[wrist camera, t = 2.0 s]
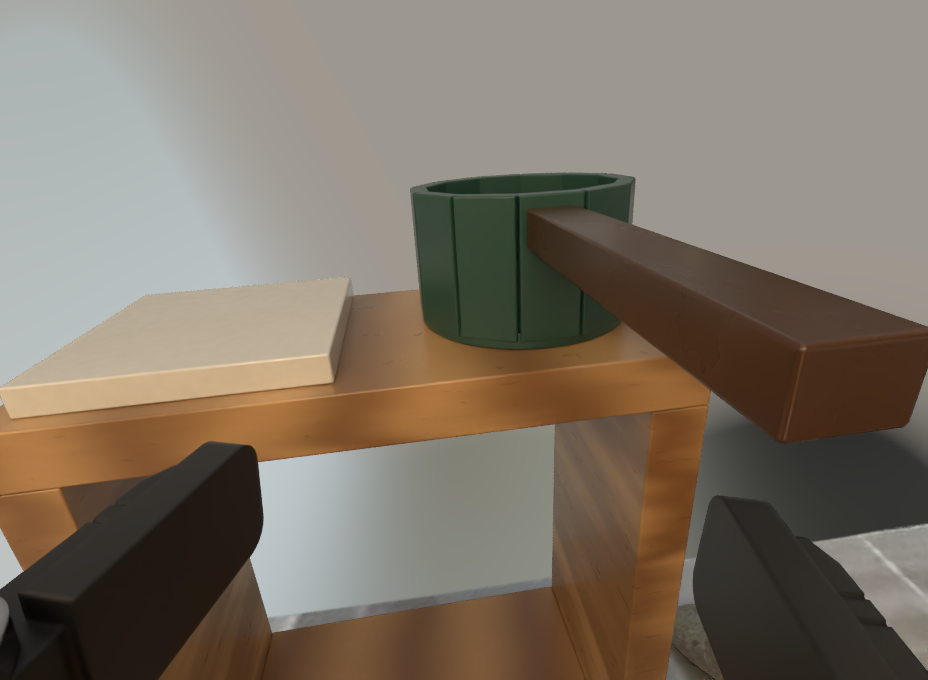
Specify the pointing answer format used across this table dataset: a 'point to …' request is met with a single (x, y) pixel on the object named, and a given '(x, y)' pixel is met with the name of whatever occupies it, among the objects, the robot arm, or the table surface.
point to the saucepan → (656, 302)
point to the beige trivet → (193, 349)
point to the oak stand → (404, 421)
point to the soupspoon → (694, 640)
